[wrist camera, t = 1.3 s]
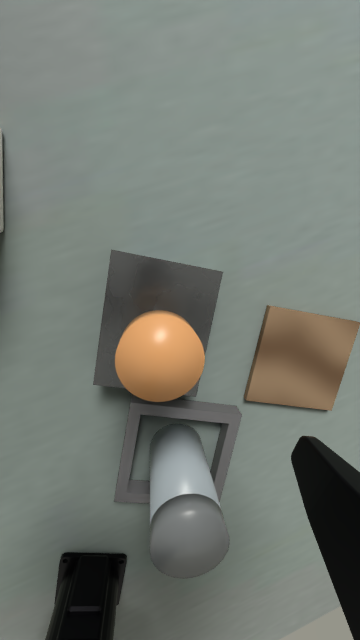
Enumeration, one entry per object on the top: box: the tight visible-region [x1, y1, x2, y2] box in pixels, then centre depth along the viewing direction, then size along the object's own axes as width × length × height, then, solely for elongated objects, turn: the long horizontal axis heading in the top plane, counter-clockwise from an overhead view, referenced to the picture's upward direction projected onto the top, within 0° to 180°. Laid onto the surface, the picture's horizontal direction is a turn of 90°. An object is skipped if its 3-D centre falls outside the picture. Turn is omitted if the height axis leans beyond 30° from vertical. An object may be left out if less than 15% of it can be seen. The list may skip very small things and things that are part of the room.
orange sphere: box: [115, 310, 205, 402], centre depth 15 cm, size 4×4×4 cm
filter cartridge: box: [150, 424, 229, 578], centre depth 20 cm, size 5×5×9 cm
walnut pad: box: [244, 305, 360, 411], centre depth 24 cm, size 9×9×1 cm
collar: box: [114, 394, 242, 503], centre depth 24 cm, size 10×10×2 cm
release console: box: [93, 250, 223, 397], centre depth 20 cm, size 10×8×3 cm
